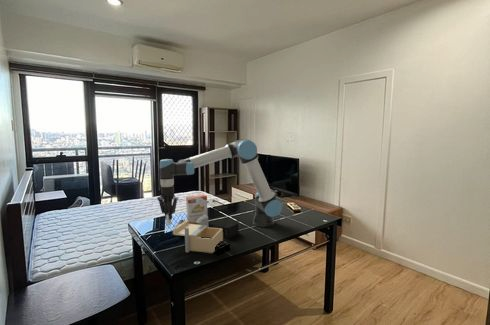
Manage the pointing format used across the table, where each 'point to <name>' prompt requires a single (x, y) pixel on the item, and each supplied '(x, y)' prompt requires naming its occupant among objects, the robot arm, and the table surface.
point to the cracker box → (196, 208)
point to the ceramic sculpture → (180, 222)
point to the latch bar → (201, 218)
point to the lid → (193, 229)
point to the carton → (203, 239)
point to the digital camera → (230, 230)
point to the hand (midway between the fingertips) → (168, 224)
